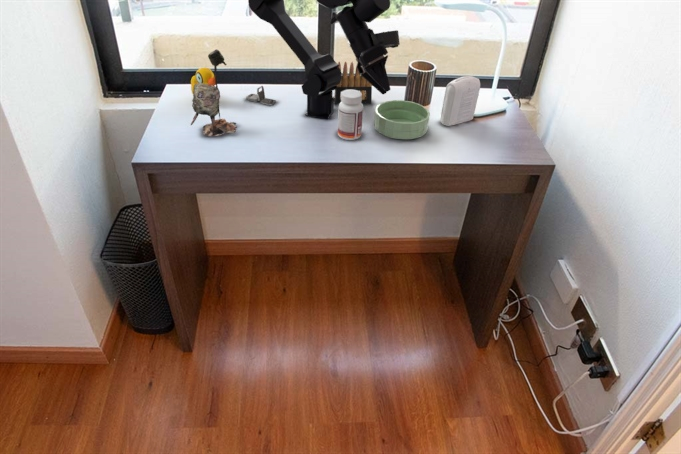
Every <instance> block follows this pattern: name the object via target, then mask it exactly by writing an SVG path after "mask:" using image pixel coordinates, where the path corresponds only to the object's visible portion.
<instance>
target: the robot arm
mask: <svg viewBox="0 0 681 454" xmlns="http://www.w3.org/2000/svg"><path fill="white" fill-rule="evenodd" d="M316 2H317V3H318V4H319V5H321V6H323V7H324V8H327V9H329V10H330V9H331V10H334V9H336V8H337V9H338V8H340V7H343V8H342V9H340V10H335V11H332V13H331V14H332V15H331V18H330V21H329V23H330V25H336V24H338V25H339V27H340V29H341V30H342V32H343V34H344V37H345V39H346V40H347V41H346V42H347V45H348V48H350V49H351V51H352V53H353V55H354V56H355V61H356V65H357V70H358V72H359V74H360V77H361V76H362V77H363V78H364V79H366V80H367V81H368V82H369V83H370V84H371V85H372V87H373V88H374V89H376V90H377V91H378V92H379V93H380V94H382V95H386V94H387V93H388V92H389V91H391V86H390V85H391V84H390V81H389V77H388V73H387V67H386V63H387V61H388V58H389V55H388V54H389V52H388V49H389V48H391V49H394V48H395V49H396V48H399V46H400V45H401V44H400V35H399V30H396V29H395V30H388V31H382V32H378V33H375V32H374V30H373V28H369V26H368V23H371V22H373V21H374V20H376V19H377V18H378V17H380V16H381V15H382V14H383V13H386V12H387V11H388V10H389V9H390V8H391V0H316ZM247 3H248V7H249V8H250V10H251V12H253V14H255V16H256V17H258V18H259V20H262V21H264V22H265V23H267V24H270V25H271V26H272V27H273V28H274V30H275V31H276V32H277V33H278V35H279V36H280V37H281V39H282V40H283V41H284V42H285V43H286V45H287V46H288V47H289V49H290V50H291V51H292V52H293V54H294V55H295V56H296V57H297V59H298V60H299V61H300V62H301V64H302V65H303V68H304V74H305V78H306V79H307V80H306V81H305V82H303V84H302V85H301V91H302V94H303V95H305V96H306V111H305V112H304V116H305V117H312V118H319V119H325V120H328V119H329V118H330V117H331V115H332V114H333V112H334V111H335V103H334V96H333V92H334V91H335V90H336V88H337V86H338V84H339V83H340V82H341V83H342V75H343V72H342V69H341V70H340V68H339V67H338V66H339V64H338V63H337V62H336V60H335V59H334V58H333V56H332V55H331V54H330V53H327V54H325V55H323V54H320V52H318V51H317V49H316V48H315V46H314V45H313V44H312V43H311V41H309V39H308V38H307V36H306V35H305V34H304V33H303V32H302V30H301V29H300V28H299V26H298V25H297V24H296V23H295V21H294V20H293V19H292V18H291V17H290V15H289V13H287V11H286V3H285V0H247ZM351 4H352V5H351ZM350 5H351V6H350ZM357 63H358V64H357ZM362 73H363V74H362Z"/></svg>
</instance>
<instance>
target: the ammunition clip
mask: <svg viewBox="0 0 681 454" xmlns="http://www.w3.org/2000/svg"><path fill="white" fill-rule="evenodd" d="M337 64H339V66H338V67H339V68H340V70H341V71H342V74H341V82H340V83H339V84H338V86H337V88H336V90H334V96H333V97H334V105H339V103H340V102H341V92H342V91H344V90H348V89H353V90H358V91H360V92H361V93H362V101H361V103H362V104H363V105H368V104H369V105H370V104H372V98H373V97H372V93H373V85H371V84H370V83H369V82H368V81H367V80H366V79H364V78H363V77H362V76H361V74H359V72H358V70H357V64H358V63H357V62H356V66H355V65H354V62H353V61H351V62H350V64H349V71H348V63H347V61H344V64H343V68H342V64H341V61H338V63H337ZM348 72H349V73H348ZM354 73H355V74H354ZM362 74H363V73H362Z"/></svg>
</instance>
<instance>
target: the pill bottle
mask: <svg viewBox="0 0 681 454" xmlns="http://www.w3.org/2000/svg"><path fill="white" fill-rule="evenodd" d="M361 101H362V93H361V92H360V91H358V90H353V89H348V90H344V91H342V92H341V102H340V103H339V104H338V111H337V136H338V137H339V138H341V139H343V140H347V141H353V140H357V139H360V138H361V136H362V131H363V119H364V118H363V116H364V104H362V103H361Z"/></svg>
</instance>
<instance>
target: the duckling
mask: <svg viewBox="0 0 681 454" xmlns="http://www.w3.org/2000/svg"><path fill="white" fill-rule="evenodd" d="M198 83H203V84H207V85H212V86H216V83H215V73H214V72H213V71H212V69H210V68H209V67H200V68H198V69H197V70H196V72H195V75H193V76H192V77H191V80H190V90H191V93H192V95H193V87H194V85H195V84H198Z"/></svg>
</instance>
